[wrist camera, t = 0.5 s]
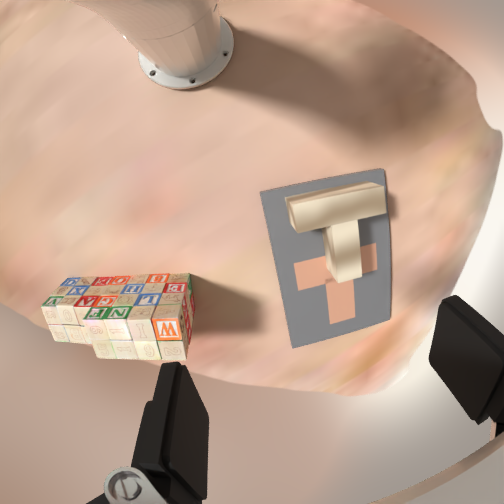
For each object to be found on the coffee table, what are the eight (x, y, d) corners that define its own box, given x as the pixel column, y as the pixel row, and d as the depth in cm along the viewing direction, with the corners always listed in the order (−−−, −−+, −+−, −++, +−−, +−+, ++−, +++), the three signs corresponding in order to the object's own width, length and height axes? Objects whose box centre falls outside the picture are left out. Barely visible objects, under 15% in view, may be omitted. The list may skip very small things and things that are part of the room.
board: (259, 191, 38) (260, 193, 37) (380, 168, 38) (383, 169, 37) (291, 344, 47) (292, 348, 47) (387, 316, 47) (389, 319, 46)
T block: (284, 197, 38) (292, 204, 33) (366, 180, 38) (383, 186, 33) (299, 275, 42) (307, 291, 37) (373, 255, 42) (389, 268, 37)
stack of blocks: (77, 310, 43) (45, 353, 31) (67, 276, 40) (29, 315, 29) (196, 308, 44) (187, 361, 32) (191, 271, 42) (178, 319, 30)
